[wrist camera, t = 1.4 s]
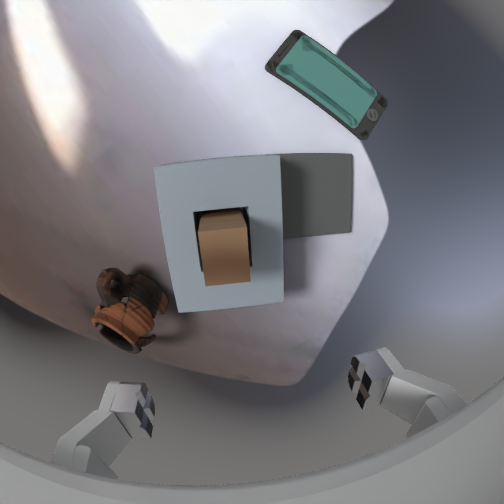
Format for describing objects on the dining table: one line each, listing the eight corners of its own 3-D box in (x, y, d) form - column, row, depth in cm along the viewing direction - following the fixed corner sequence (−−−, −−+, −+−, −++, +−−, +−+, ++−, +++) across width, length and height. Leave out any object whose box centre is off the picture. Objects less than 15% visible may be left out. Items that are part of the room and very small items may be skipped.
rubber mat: (270, 154, 29) (270, 154, 29) (349, 153, 30) (351, 153, 30) (273, 237, 33) (274, 239, 33) (348, 230, 34) (350, 232, 34)
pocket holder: (163, 164, 28) (153, 167, 24) (270, 154, 29) (279, 155, 25) (182, 291, 34) (178, 312, 30) (275, 281, 35) (283, 301, 31)
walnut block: (203, 208, 30) (197, 231, 22) (238, 204, 31) (246, 226, 22) (207, 249, 32) (205, 286, 24) (241, 246, 32) (250, 281, 24)
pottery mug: (183, 315, 36) (157, 365, 30) (135, 306, 40) (109, 348, 34) (144, 247, 29) (103, 302, 23) (95, 247, 32) (59, 291, 26)
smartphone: (365, 142, 29) (264, 66, 25) (360, 141, 30) (262, 69, 26) (391, 100, 27) (297, 26, 23) (385, 101, 29) (294, 29, 24)
